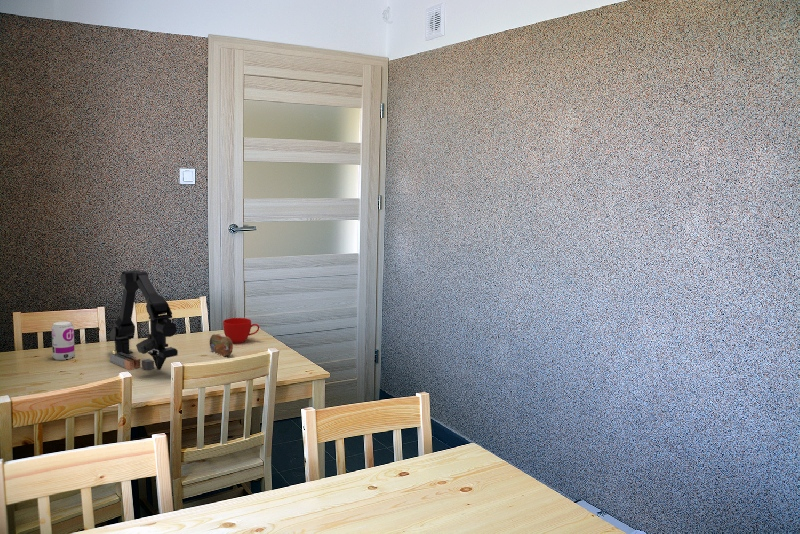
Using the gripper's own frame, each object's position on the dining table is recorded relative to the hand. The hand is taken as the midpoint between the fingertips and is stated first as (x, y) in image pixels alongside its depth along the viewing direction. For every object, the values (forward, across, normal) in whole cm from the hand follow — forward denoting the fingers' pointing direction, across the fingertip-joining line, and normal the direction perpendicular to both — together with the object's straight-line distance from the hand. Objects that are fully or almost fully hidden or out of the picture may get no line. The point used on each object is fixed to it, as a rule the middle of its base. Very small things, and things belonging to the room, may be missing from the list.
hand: (158, 369), depth 269 cm
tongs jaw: (+1, -18, -3) cm, 18 cm away
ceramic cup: (+1, -16, +52) cm, 55 cm away
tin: (+1, -5, +33) cm, 34 cm away
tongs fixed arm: (+1, -19, -5) cm, 20 cm away
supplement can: (+1, -44, -18) cm, 48 cm away
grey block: (+1, -7, 0) cm, 7 cm away
